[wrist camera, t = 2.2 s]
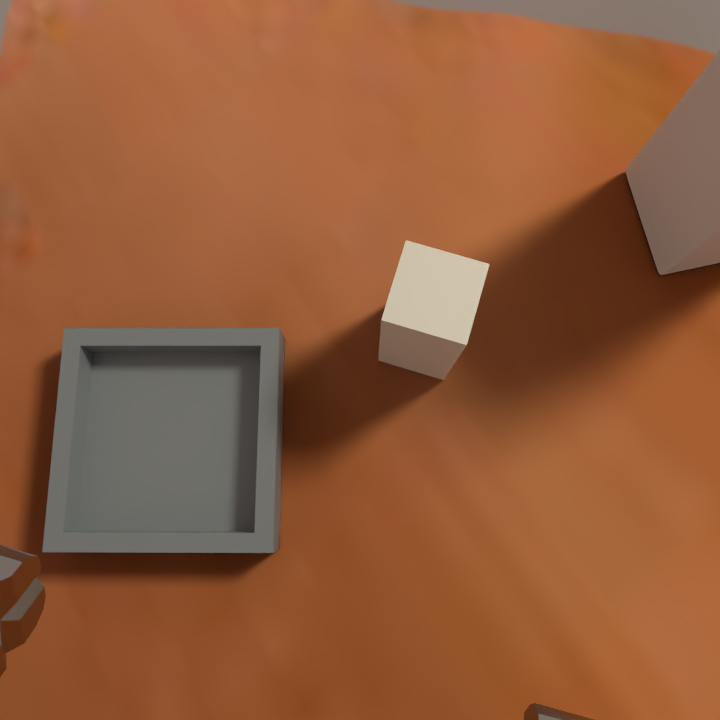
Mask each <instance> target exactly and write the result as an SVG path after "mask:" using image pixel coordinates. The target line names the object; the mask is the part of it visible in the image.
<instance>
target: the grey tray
mask: <svg viewBox="0 0 720 720" xmlns="http://www.w3.org/2000/svg"><path fill="white" fill-rule="evenodd" d="M284 358H285V338H284V336H283V334H282V332H281V330H280V328H64V334H63V344H62V354H61V365H60V375H59V385H58V395H57V406H56V416H55V426H54V436H53V446H52V457H51V467H50V477H49V487H48V498H47V508H46V518H45V528H44V538H43V549H42V552H110V553H274V552H276V551H277V550H279V549H280V511H281V473H282V435H283V397H284Z"/></svg>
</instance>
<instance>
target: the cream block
mask: <svg viewBox="0 0 720 720" xmlns="http://www.w3.org/2000/svg"><path fill="white" fill-rule="evenodd" d="M489 265H490V264H488V263H484V262H481V261H477V260H473V259H470V258H466V257H463V256H459V255H456V254H452V253H449V252H445V251H442V250H438V249H435V248H431V247H428V246H424V245H421V244H417V243H414V242H410V241H407V240H406V242H405V245H404V248H403V252H402V255H401V258H400V261H399V265H398V268H397V271H396V274H395V277H394V281H393V284H392V287H391V290H390V293H389V297H388V300H387V303H386V306H385V309H384V313H383V316H382V319H381V329H380V343H379V356H378V361H381V362H384V363H388V364H391V365H394V366H398V367H401V368H404V369H408V370H411V371H414V372H418V373H421V374H424V375H428V376H431V377H434V378H438V379H441V380H444V379H445V378H446V376H447V375H448V373H449V372H450V370H451V369H452V367H453V366H454V364H455V362H456V361H457V359H458V358H459V356H460V355H461V353H462V352H463V350H464V349H465V347H466V346H467V343H468V339H469V335H470V332H471V328H472V325H473V321H474V318H475V314H476V311H477V307H478V304H479V300H480V296H481V293H482V289H483V286H484V282H485V279H486V275H487V272H488V268H489Z"/></svg>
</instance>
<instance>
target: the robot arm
mask: <svg viewBox="0 0 720 720" xmlns="http://www.w3.org/2000/svg"><path fill="white" fill-rule="evenodd" d="M41 570H42V568H41V563H40V559H39V556H36V555H33V554H29V553H26V552H23V551H19V550H16V549H13V548H9V547H6V546H2V545H0V677H1V675H2V674H3V673H4V671H5V670H6V653H7V652H9V651H11V650H13V649H15V648H16V647H18V646H20V645H22V644H24V643H25V642H26V640H27V639H28V637H29V636H30V634H31V633H32V631H33V630H34V628H35V627H36V625H37V622H38V620H39V618H40V616H41V613H42V611H43V609H44V603H45V597H46V596H45V588H44V586H43V584H42V583H41V582H40V581H39V580H38V579H37V578H36V576H37V575H38V574H39V572H40V571H41ZM524 720H594V719H590V718H586V717H583V716H579V715H576V714H572V713H568V712H565V711H561V710H557V709H554V708H550V707H547V706H543V705H539V704H536V703H533V704H530V705H529V706H528V708H527V710H526V711H525V713H524Z"/></svg>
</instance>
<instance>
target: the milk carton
mask: <svg viewBox="0 0 720 720" xmlns="http://www.w3.org/2000/svg"><path fill="white" fill-rule="evenodd" d="M626 176H627V179H628V182H629V185H630V188H631V191H632V194H633V197H634V201H635V204H636V207H637V210H638V213H639V216H640V219H641V222H642V225H643V228H644V231H645V234H646V237H647V240H648V243H649V246H650V249H651V253H652V256H653V259H654V262H655V265H656V268H657V270H658V273H659V274H660V275H665V274H669V273H674V272H679V271H683V270H688V269H693V268H697V267H702V266H707V265H712V264H716V263H720V50H719V52H718V53H717V54H716V55H715V57H714V58H713V59H712V61H711V62H710V63H709V64H708V66H707V67H706V68H705V69H704V71H703V72H702V73H701V75H700V76H699V77H698V78H697V80H696V81H695V82H694V83H693V85H692V86H691V87H690V88H689V90H688V91H687V92H686V94H685V95H684V96H683V97H682V99H681V100H680V101H679V102H678V104H677V105H676V106H675V108H674V109H673V110H672V111H671V113H670V114H669V115H668V116H667V118H666V119H665V120H664V121H663V123H662V124H661V125H660V127H659V128H658V129H657V130H656V132H655V133H654V134H653V135H652V137H651V138H650V139H649V140H648V142H647V143H646V144H645V146H644V147H643V148H642V149H641V151H640V152H639V153H638V154H637V156H636V157H635V158H634V160H633V161H632V162H631V163H630V165H629V166H628V167H627V169H626Z"/></svg>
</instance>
